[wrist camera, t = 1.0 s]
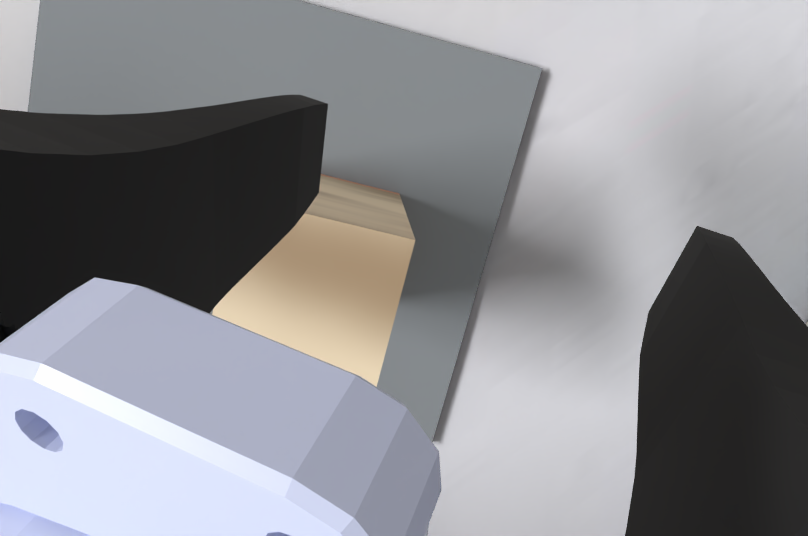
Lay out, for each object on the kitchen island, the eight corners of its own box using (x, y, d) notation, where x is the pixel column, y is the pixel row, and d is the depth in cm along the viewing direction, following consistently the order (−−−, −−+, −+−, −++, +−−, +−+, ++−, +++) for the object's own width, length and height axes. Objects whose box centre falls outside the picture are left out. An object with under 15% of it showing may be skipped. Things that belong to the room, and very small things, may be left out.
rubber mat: (430, 441, 30) (430, 447, 30) (6, 354, 28) (0, 359, 28) (539, 69, 26) (542, 68, 26) (54, -67, 24) (48, -70, 24)
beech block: (372, 301, 28) (372, 401, 18) (261, 275, 27) (202, 366, 18) (399, 193, 27) (415, 240, 17) (285, 164, 26) (234, 196, 17)
